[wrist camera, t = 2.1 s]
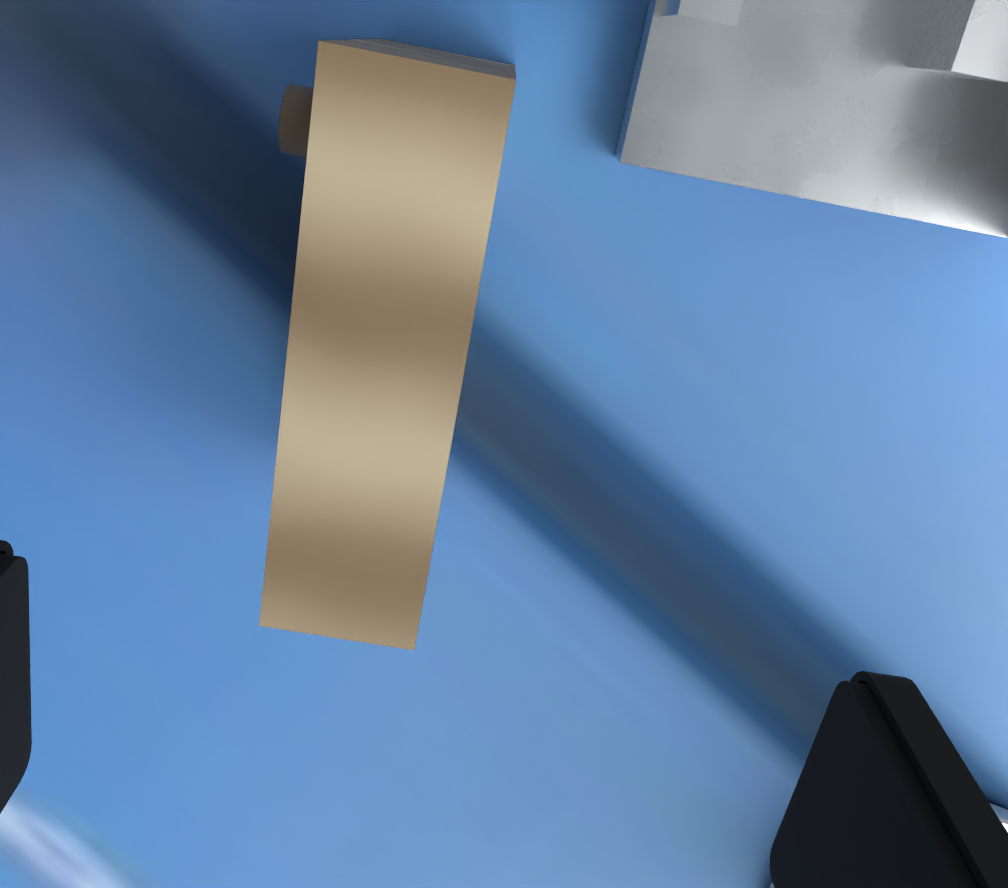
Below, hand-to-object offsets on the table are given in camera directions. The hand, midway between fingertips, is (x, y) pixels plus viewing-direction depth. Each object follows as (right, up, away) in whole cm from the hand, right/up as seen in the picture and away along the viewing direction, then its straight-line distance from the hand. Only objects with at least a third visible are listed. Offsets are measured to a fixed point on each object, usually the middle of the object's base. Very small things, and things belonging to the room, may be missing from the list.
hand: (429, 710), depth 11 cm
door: (-2, +8, +20) cm, 22 cm away
